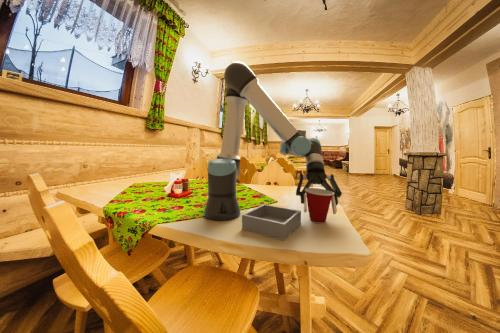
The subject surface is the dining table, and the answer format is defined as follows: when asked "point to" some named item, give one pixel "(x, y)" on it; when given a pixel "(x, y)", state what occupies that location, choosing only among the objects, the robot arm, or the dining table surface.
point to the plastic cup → (318, 203)
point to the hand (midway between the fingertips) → (320, 211)
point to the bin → (272, 221)
